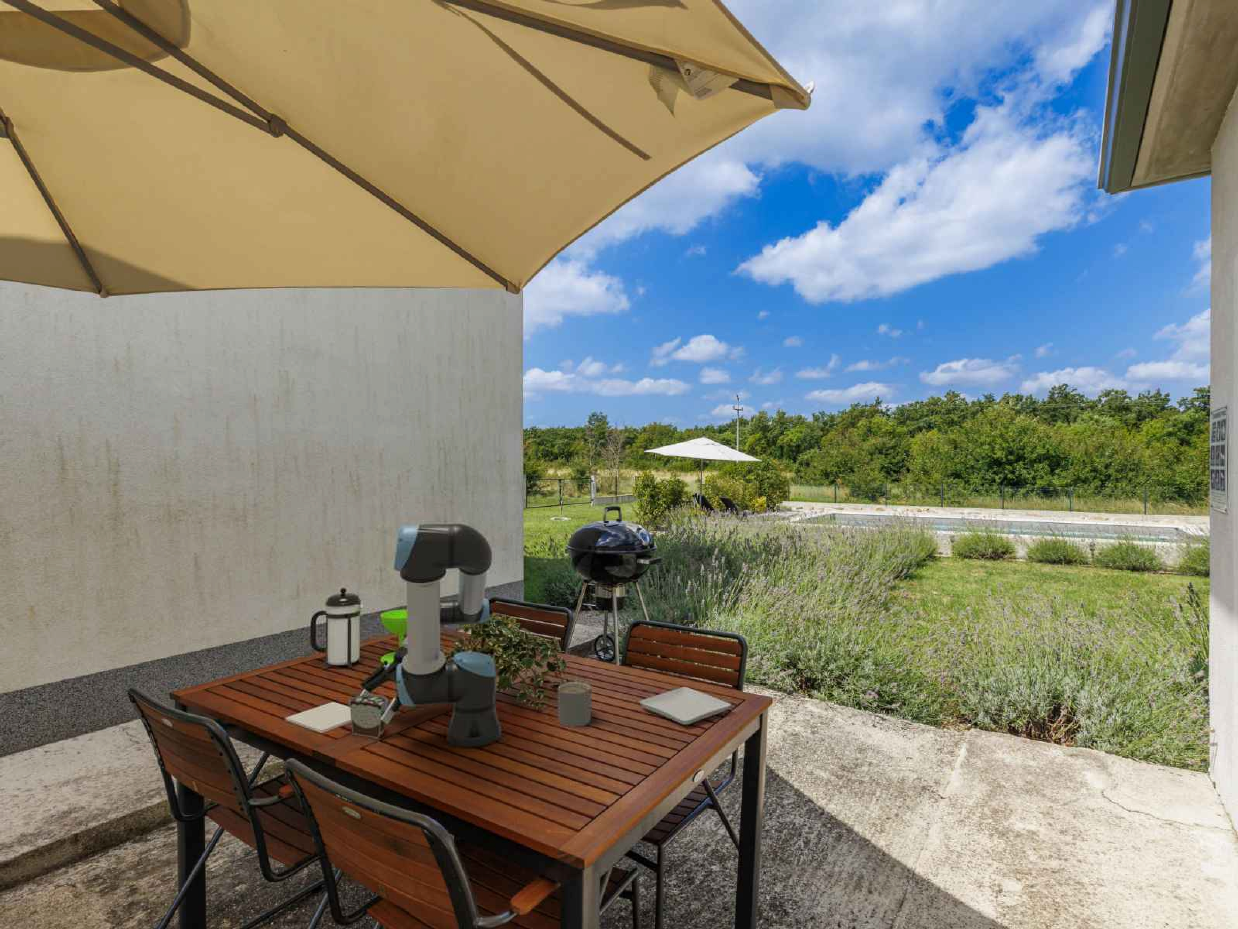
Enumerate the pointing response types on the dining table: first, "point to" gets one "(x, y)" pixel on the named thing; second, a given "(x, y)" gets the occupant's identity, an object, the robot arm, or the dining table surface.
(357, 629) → the coffee press
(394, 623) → the wineglass
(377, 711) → the food container
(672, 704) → the salad plate
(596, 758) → the dining table surface
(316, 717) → the ceramic tile
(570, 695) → the grey canister
